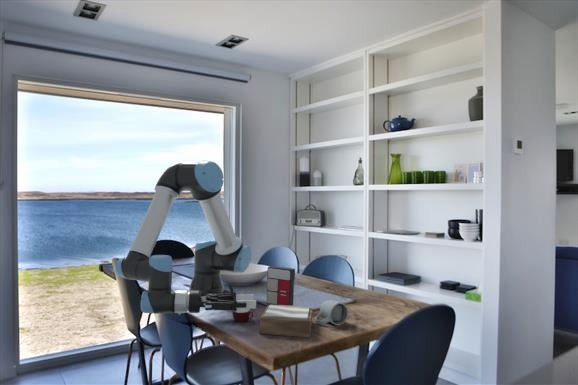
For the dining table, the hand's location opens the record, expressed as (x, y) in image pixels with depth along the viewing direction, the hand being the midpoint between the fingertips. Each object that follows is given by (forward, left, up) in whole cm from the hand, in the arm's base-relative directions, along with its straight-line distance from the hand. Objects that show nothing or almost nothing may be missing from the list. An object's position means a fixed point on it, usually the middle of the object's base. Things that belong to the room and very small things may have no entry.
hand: (254, 301), depth 146 cm
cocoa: (+1, -5, -7) cm, 8 cm away
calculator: (-23, +6, -7) cm, 25 cm away
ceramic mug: (-3, +27, -7) cm, 28 cm away
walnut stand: (+6, +12, -7) cm, 15 cm away
